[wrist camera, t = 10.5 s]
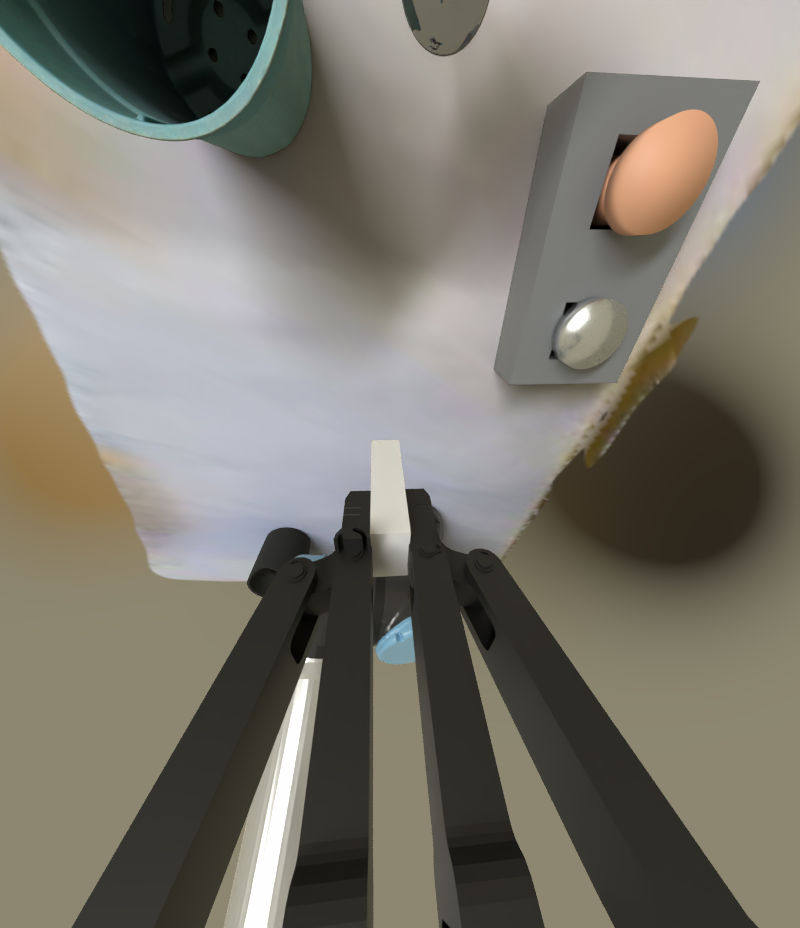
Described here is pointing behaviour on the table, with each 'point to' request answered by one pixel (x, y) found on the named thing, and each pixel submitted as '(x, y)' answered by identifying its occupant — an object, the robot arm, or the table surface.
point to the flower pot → (172, 66)
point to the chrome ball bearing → (589, 332)
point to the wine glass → (444, 22)
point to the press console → (572, 209)
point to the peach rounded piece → (658, 175)
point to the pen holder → (276, 557)
